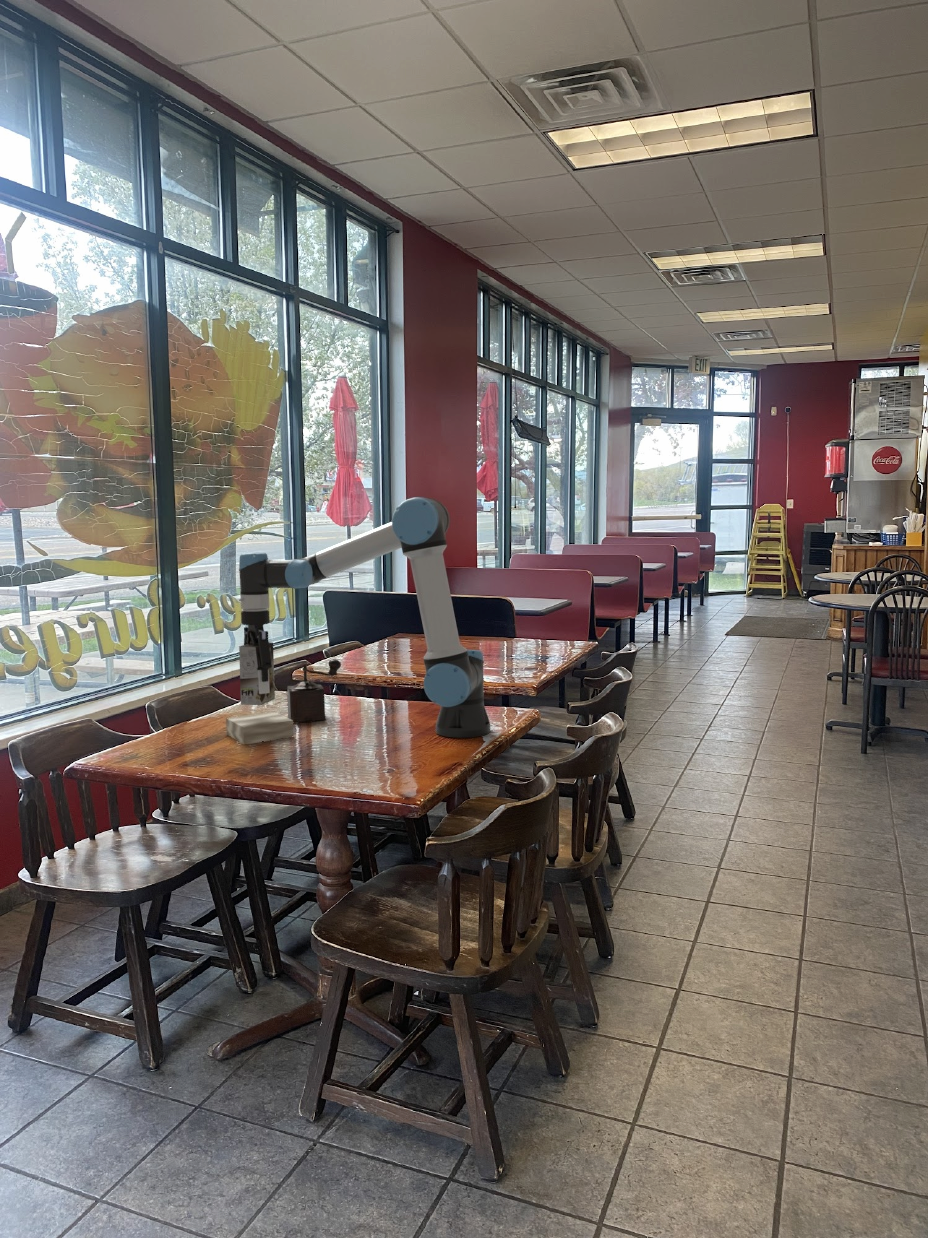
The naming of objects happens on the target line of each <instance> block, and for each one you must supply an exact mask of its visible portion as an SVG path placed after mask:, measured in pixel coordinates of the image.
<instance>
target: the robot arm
mask: <svg viewBox="0 0 928 1238" xmlns="http://www.w3.org/2000/svg"><path fill="white" fill-rule="evenodd" d="M450 519H451V518H450V514H449V511H448V509H447V507H446V506H445V505H444V504H443V503H442V502H441V501H439V500H438V499H434V498H426V497H421V496H417V497H411V498H408V499H406V500H404V501H402V502H401V503H399V504H398V506H397V507H396V508H395V509H394V512H393V514H392V517H391V522H390V521H389V522H388V523H386V524H383V525H380V526H378V527H375V528H374V529H371V530H369V531H367V532H364V533H362V534H361V533H360V534H358V535H357V536H354V537H352V538H349V539H347V540H344V541H342V542H339V543H336V544H335V545H332V546H330V547H327V548H325V549H322V550H320V551H318V552H316V553H313V554H310V555H308V556H305V557H303V558H295V559H294V558H293V559H280V560H279V559H277V560H276V559H269V558H268V553H266V552H243V553H241V554H240V555H239V562H238V563H239V565H238V566H239V567H238V571H239V587H240V588H239V589H240V592H239V593H240V598H238V601H239V602H240V608H241V609H242V610H241V612H240V619H241V620H240V622H241V624H242V625H243V626H245V627H243V630H244V631H243V633H244V637H243V645H246V644H253V646H259V651H260V654H259V653H258V664H259V667H258V668H257V670H258V680H259V694H265V693H270V688H269V669H270V668H271V667H272V664H271V656H270V649H269V642H270V641H269V631H268V630H264V625H268V624H269V623H271V622H270V617H271V616H270V611H269V608H270V593H269V592H270V591H269V589H272V588H274V589H294V590H298V589H306V588H308V587H309V586H311V585H315V584H318V583H320V581H322V580H325V579H327V578H330V577H332V576H335V575H336V574H339V573H342V572H344V571H346V570H349V569H351V568H354V567H357V566H359V565H361V564H364V563H366V562H370V561H372V560H374V559H376V558H380V557H382V556H384V555H387V554H390V553H391V552H395V551H397V550H400V549H401V550H402V555H403V556H405V557H406V558H408V559H409V561H410V567H411V572H412V577H413V583H414V588H415V591H416V597H417V601H418V602H417V603H418V607H419V613H420V618H421V622H422V628H423V633H424V639H425V644H426V649H427V651H426V653H425V654H424V656H423V665H424V668H425V675H424V678H423V689H424V692H425V694H426V696H427V698H428V699H429V700H430V701H431V702H432V703H434V705H435V704H436V705H438V706H440V710H439V713H438V716H437V719H436V722H435V734H437V735H439V736H441V737H447V738H459V739H462V738H463V739H465V738H466V739H468V738H477V737H482V736H485V735H488V734H490V732H491V722H490V719H489V716H488V713H487V709H486V707H485V702H484V701H485V700H484V691H485V690H484V688H485V687H484V685H485V684H484V663H485V660H484V654H483V652H482V650H480V649H479V650H478V649H467V648H466V647H465V646H463V645H462V643H461V642H460V638H459V637H460V636H459V631H458V627H457V622H456V617H455V611H454V606H453V600H452V595H451V591H450V586H449V579H448V575H447V569H446V564H445V557H444V551H445V550H446V548H447V547H448V543H447V539H446V533H447V532H448V529H449V527H450V524H451V523H450V521H451V520H450Z"/></svg>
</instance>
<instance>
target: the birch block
mask: <svg viewBox="0 0 928 1238" xmlns="http://www.w3.org/2000/svg"><path fill="white" fill-rule="evenodd" d="M225 725H226V736H229V737H230V736H231V737H230V738H231V739H233V740H236V741H237V742H239V743H240V744H243V745H250V744H256V743H257V744H258V743H263V742H262V741H264V742H271V741H276V739H278V740H281V739H280V738H284V739H288V738H287V737H291V738H293V737H292V736H294V737H295V735H294V734H295V733H294V723H293V720H291V719H289V718H288V716H284V715H283V714H280V713H278V712H275V711H271V712H263V713H255V714H249V715H240V716H233V717H226V718H225ZM270 740H271V741H270Z"/></svg>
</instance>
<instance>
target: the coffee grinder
mask: <svg viewBox="0 0 928 1238" xmlns="http://www.w3.org/2000/svg"><path fill="white" fill-rule="evenodd" d="M302 667H303V668H302V671H303V681H300V682H298V683H296V684H294V685H287V718H288V717H289V719H291V720H293V722H299V723H310V722H309V721H312V722H316V721H315V720H321V721H326V711H325V710H326V709H325V708H326V707H325V706H326V705H325V689H324V687H323V685H321V684H316V683H315V682H313V681H310V680H308V675H307V674H308V673H310V674H315V675H323V676H327V677H333V676H337V675H338V670H339V669H341V667H342V663H341V661H340V660H338V659H336V658H334V659H333V658H332V659H330V660H329V661H328V667H329V670H328V672H325V671H321V670H312V669H311V670H310V669H308V665H307V663H303V664H302Z"/></svg>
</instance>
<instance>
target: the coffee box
mask: <svg viewBox="0 0 928 1238" xmlns="http://www.w3.org/2000/svg"><path fill="white" fill-rule="evenodd" d="M269 649H270V656H271V664H272V667H271V668H270V669H269V688H270V693H265V694H259V680H258V670H257V668H258V667H259V664H258V653H259V654H260V651H259V646H253V644H246V645H244V644H243V645H239V646H238V650H239V651H238V653H239V655H238V657H239V680H240V681H239V684H240V685H239V686H240V705H242V706H243V705H245V706H246V705H247V706H263V705H265V704H267V703H269V702H272V701H275V700H276V692H275V691H276V690H275V689H276V688H275V686H276V685H275V664H274V663H275V661H274V660H275V659H274V656H275V655H274V642H272V641H269Z"/></svg>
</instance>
